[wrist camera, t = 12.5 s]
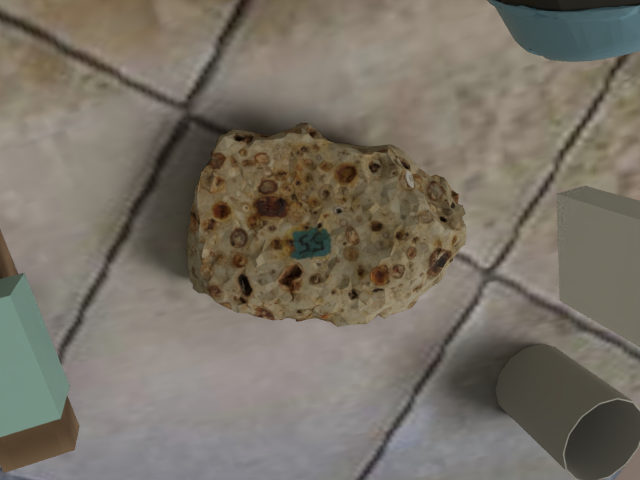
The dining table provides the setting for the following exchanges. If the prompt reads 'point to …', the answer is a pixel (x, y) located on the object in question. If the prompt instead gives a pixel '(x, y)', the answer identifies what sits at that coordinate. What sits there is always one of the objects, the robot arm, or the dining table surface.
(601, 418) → the cup
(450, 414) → the dining table surface
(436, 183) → the rock
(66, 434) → the rail
